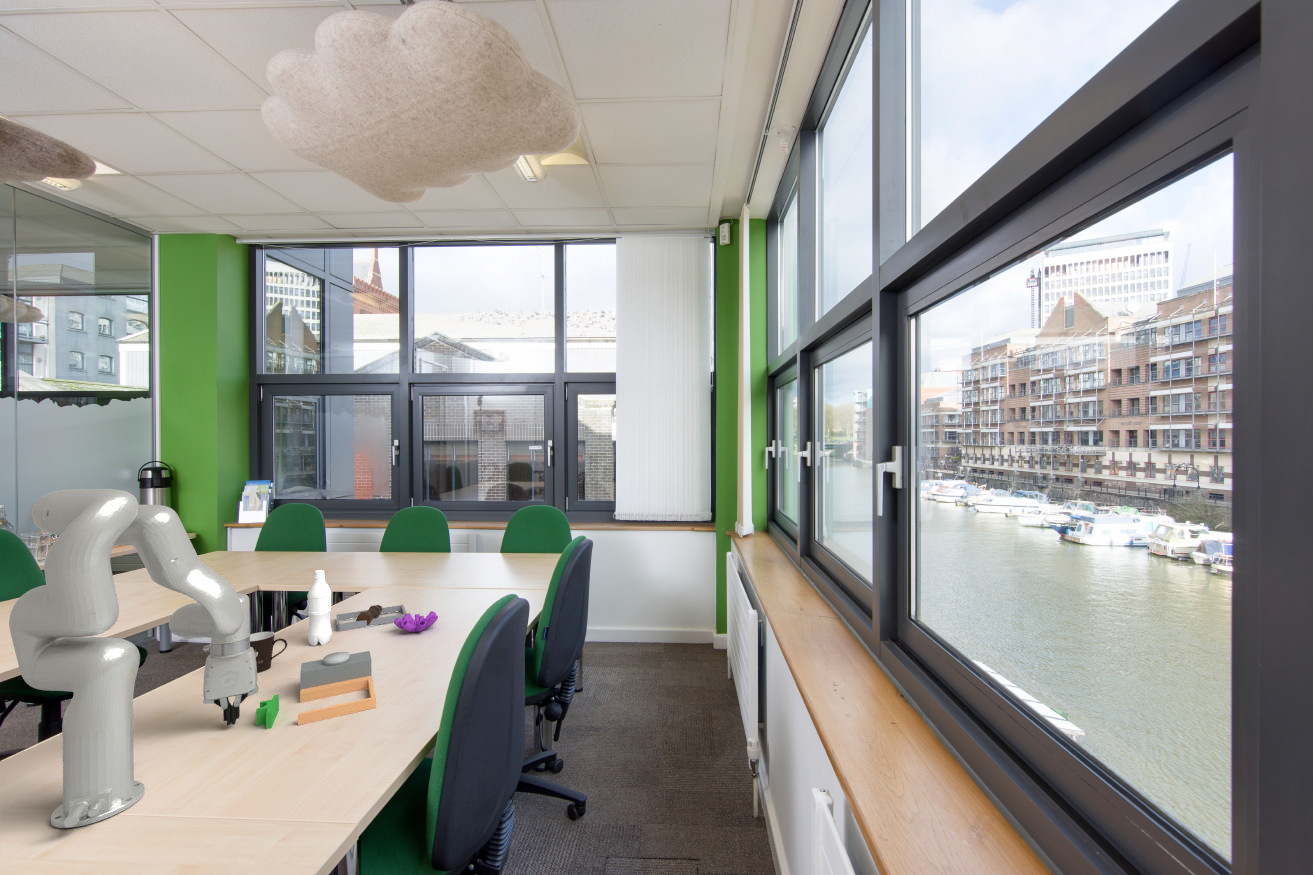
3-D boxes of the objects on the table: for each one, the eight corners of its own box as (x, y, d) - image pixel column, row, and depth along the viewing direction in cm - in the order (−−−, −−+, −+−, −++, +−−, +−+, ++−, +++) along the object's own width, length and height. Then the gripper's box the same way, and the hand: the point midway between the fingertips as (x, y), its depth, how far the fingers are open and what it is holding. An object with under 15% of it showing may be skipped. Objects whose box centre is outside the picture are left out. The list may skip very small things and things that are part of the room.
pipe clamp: (262, 713, 143) (262, 696, 143) (279, 710, 144) (278, 693, 144) (253, 732, 133) (253, 714, 134) (271, 728, 135) (271, 710, 135)
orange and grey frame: (375, 707, 145) (375, 674, 145) (297, 725, 136) (297, 690, 136) (369, 674, 166) (369, 645, 166) (301, 687, 157) (301, 657, 157)
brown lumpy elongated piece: (380, 617, 225) (365, 629, 210) (368, 611, 224) (353, 623, 209) (388, 604, 225) (374, 615, 210) (376, 598, 225) (361, 609, 210)
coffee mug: (233, 673, 168) (232, 640, 168) (259, 662, 176) (259, 630, 176) (264, 677, 165) (264, 643, 165) (289, 665, 173) (289, 633, 174)
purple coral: (437, 639, 204) (435, 623, 199) (393, 644, 200) (389, 627, 195) (440, 613, 213) (438, 597, 208) (397, 617, 209) (394, 601, 204)
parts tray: (407, 620, 217) (407, 613, 217) (337, 631, 205) (336, 624, 205) (402, 610, 229) (402, 604, 229) (336, 620, 217) (336, 614, 217)
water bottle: (337, 640, 195) (336, 568, 196) (319, 647, 188) (318, 573, 189) (320, 638, 197) (319, 567, 198) (302, 646, 190) (301, 572, 191)
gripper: (187, 658, 129) (188, 738, 129) (267, 645, 136) (267, 720, 136) (194, 647, 135) (195, 724, 135) (269, 636, 143) (270, 708, 143)
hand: (231, 722), depth 136 cm, fingers closed
